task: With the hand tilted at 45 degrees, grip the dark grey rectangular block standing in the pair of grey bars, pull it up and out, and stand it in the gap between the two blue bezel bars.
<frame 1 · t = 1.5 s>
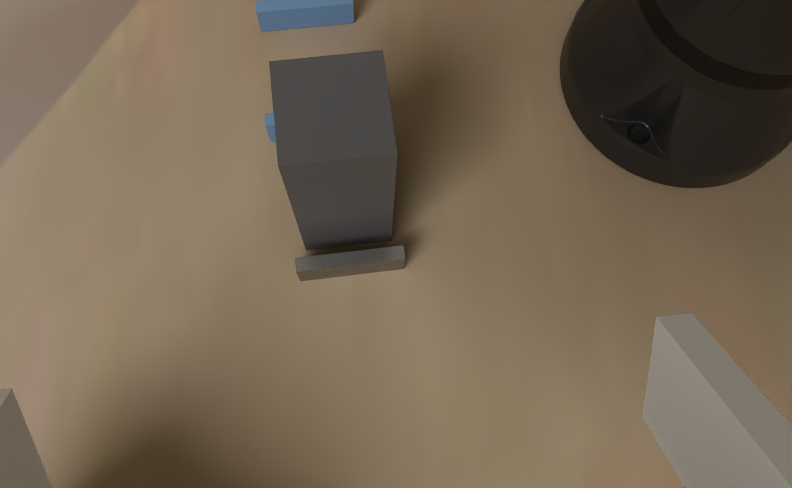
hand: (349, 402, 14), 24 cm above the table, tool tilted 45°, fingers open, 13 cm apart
blue bezel gap: (313, 74, 43), on the table
dark grey rectangular block: (344, 205, 41), on the table
pair of grey bars: (344, 205, 41), on the table
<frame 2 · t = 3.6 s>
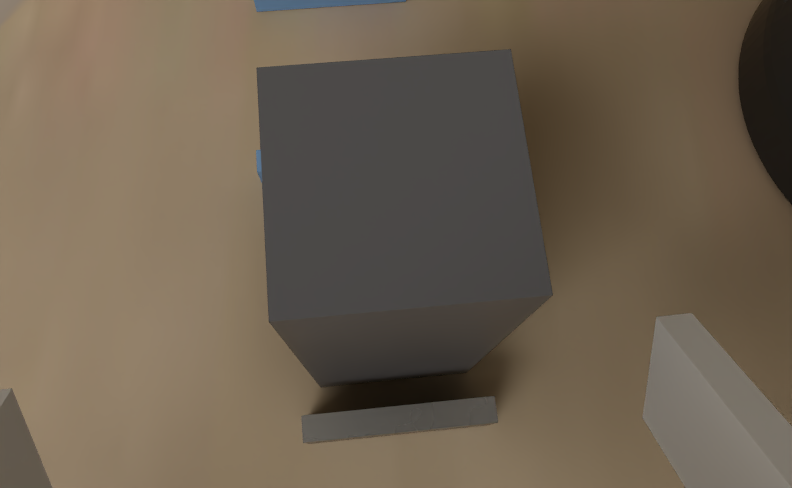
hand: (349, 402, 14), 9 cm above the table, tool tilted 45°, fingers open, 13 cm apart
blue bezel gap: (338, 83, 27), on the table
dark grey rectangular block: (386, 308, 24), on the table
pair of grey bars: (386, 308, 24), on the table
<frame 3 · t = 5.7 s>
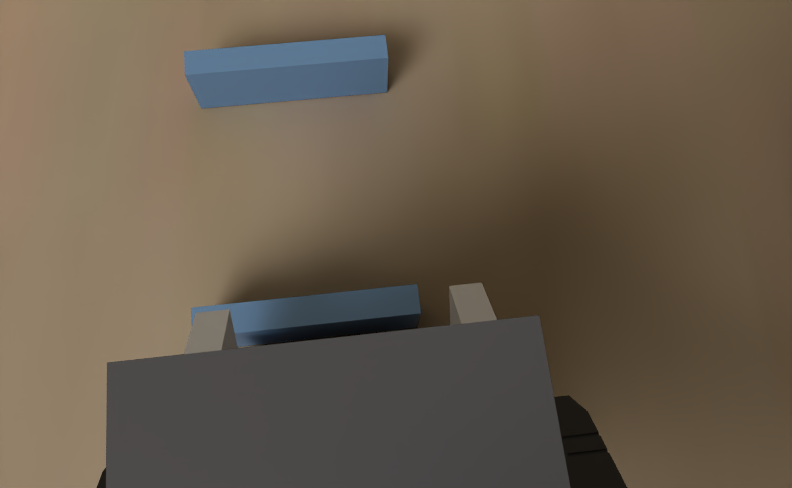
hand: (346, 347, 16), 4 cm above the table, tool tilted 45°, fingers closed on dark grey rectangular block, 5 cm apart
blue bezel gap: (303, 200, 21), on the table
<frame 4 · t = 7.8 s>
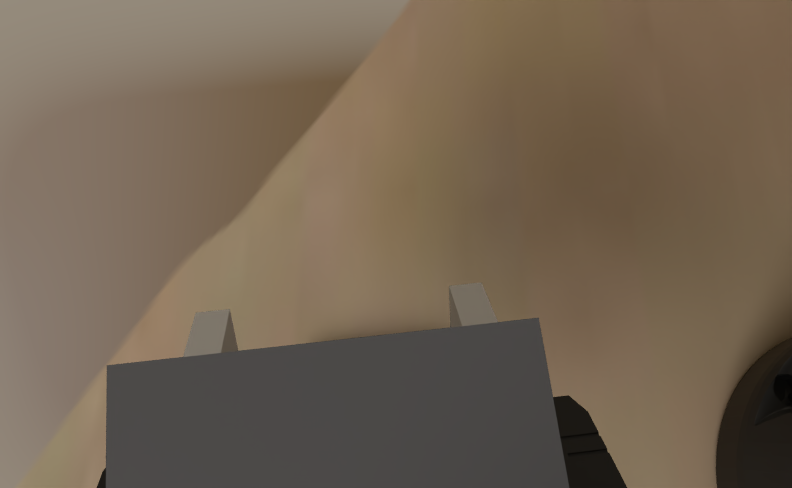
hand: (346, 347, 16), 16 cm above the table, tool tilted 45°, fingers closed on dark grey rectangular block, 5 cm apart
when the fingers open (5 cm above the table, at t = 10.2 s): dark grey rectangular block drops 1 cm, on the table.
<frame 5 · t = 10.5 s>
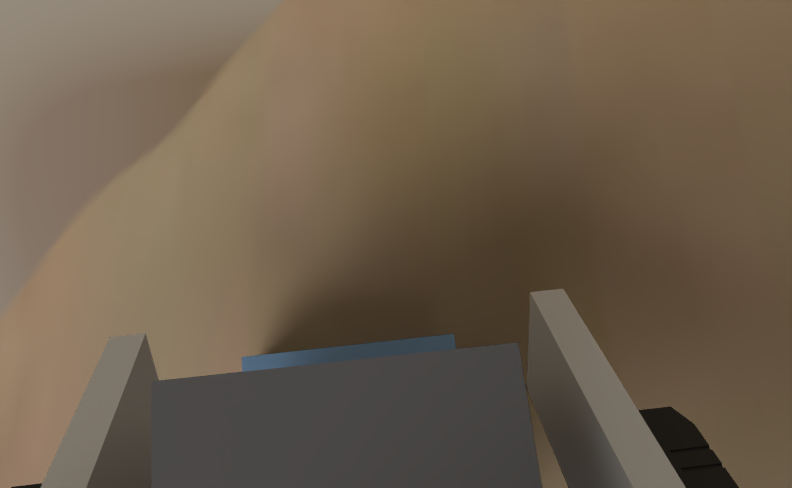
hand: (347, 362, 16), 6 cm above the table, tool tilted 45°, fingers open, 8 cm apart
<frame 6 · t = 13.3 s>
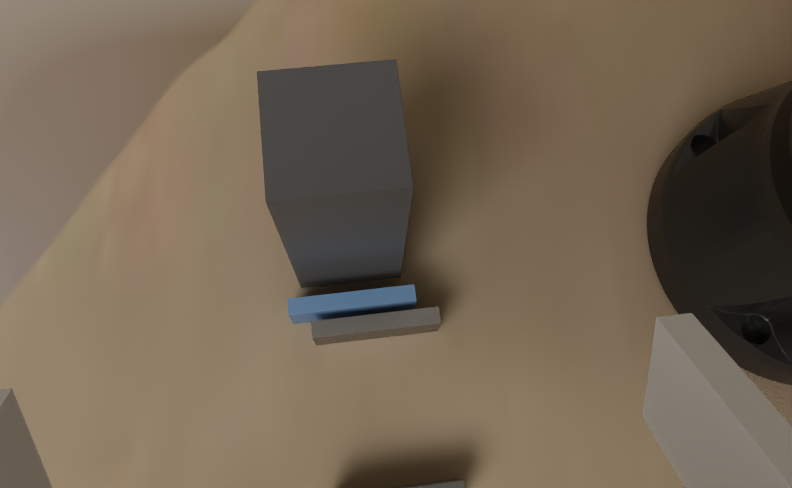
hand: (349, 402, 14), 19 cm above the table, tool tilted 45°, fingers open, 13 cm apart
blue bezel gap: (345, 234, 35), on the table
dark grey rectangular block: (346, 235, 35), on the table
pair of grey bars: (385, 410, 33), on the table
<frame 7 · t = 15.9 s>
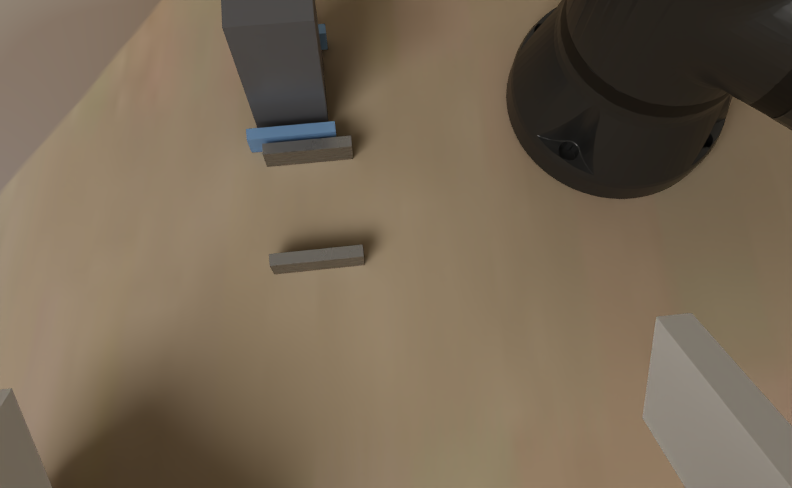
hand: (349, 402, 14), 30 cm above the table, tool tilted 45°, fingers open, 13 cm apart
blue bezel gap: (290, 94, 50), on the table
dark grey rectangular block: (291, 95, 50), on the table
pair of grey bars: (314, 209, 47), on the table
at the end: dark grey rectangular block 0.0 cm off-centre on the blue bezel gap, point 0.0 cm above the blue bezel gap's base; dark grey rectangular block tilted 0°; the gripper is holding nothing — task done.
